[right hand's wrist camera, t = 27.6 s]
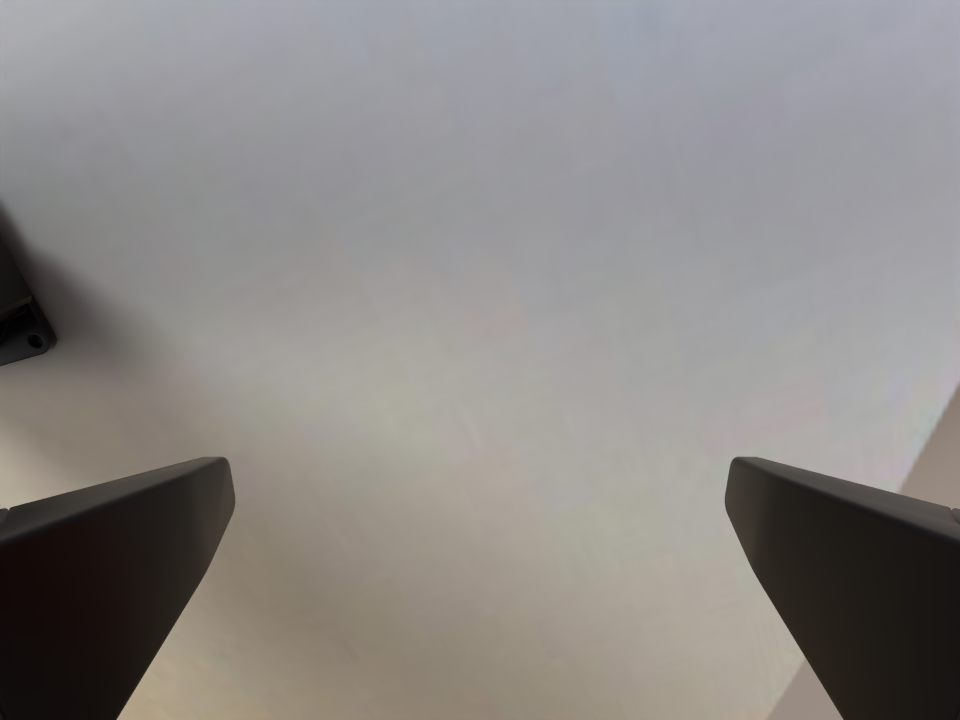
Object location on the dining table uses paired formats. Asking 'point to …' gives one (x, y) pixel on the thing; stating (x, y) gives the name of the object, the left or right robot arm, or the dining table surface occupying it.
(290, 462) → the dining table surface
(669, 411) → the dining table surface
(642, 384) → the dining table surface
